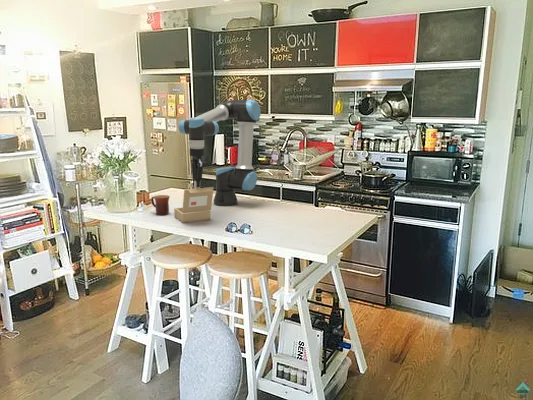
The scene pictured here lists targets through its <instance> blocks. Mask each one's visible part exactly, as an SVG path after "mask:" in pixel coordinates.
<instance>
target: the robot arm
mask: <svg viewBox="0 0 533 400" xmlns="http://www.w3.org/2000/svg"><path fill="white" fill-rule="evenodd" d="M261 113H262V112H261V106H260V104H259V103H258V101H256V100H253V99H231V100H227V101H225V102H222V103H220V104H218V105H217V106H216V107H215V108H213V109H211V110H208V111H206V112H204V113H202V114H200V115H197V116H195V117H190V118H189V119H188V120H187V119H182V120H180V121H179V122H178V131H179V132H180V134H183V135H189V138H188V139H189V142H188V144H189V156H190V157H192V159H191V160H190V164H191V173H192V175H191V176H192V179H193V181H194V183H193V184H194V186H193V187H194V188H193V189H196V188H201V181H203V171H204V170H203V168H204V162H203V160H202V157H204V156H205V137H207V136H208V137H209V136H212V137H213V136H215V135H217V134H218V133H219V130H220V126H219V124H218V122H220V121H226V120H236V123H237V124H238V125H239V126H238V128H239V129H238V146H237V148H238V149H237V165H236V166H225V167H218V168H217V169H216V171H215V190H216V191H215V194H214V197H213V205H216V206H219V207H230V206H232V207H233V206H235V205H238V197H237V194H236V192H235V191H236V189H237V190H243V191H251V190H253V189H254V188H255V187H256V185H257V182H258V174H257V173H256V171H255V167H253V166H252V163H253V148H254V147H253V143H254V126H255V125H256V124H257V121H258V120H260V118H261Z"/></svg>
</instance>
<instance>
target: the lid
mask: <svg viewBox="0 0 533 400" xmlns="http://www.w3.org/2000/svg"><path fill="white" fill-rule="evenodd" d="M214 189H215V188H214V186H208V187H200V188H196V189H194V188H185V189H183V201H182V202H183V203H182V207H183V210H182V213H190V212H199V211H208V210H210V211H212V204H213V198H214V197H213V195H214Z"/></svg>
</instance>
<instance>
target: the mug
mask: <svg viewBox="0 0 533 400" xmlns="http://www.w3.org/2000/svg"><path fill="white" fill-rule="evenodd" d="M170 197H171V196H170V195H168V194H158V195H157V194H156V195H154V196H152V197H150V201H151V204H152V206H153V207H154V208H155V214H156V215H157V216H166V215H168V214H169V212H170V207H169V206H170V205H169V201H170Z"/></svg>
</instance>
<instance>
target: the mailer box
mask: <svg viewBox="0 0 533 400" xmlns="http://www.w3.org/2000/svg"><path fill="white" fill-rule="evenodd" d="M182 210H183V206H182V207H174V218H175V219H177V220H178V221H179V222H181V224H186V223H194V222H201V221H202V220H204V221H210V220H211V215H212V214H211V210H208V211H199V212H190V213H182ZM202 222H203V221H202Z"/></svg>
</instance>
